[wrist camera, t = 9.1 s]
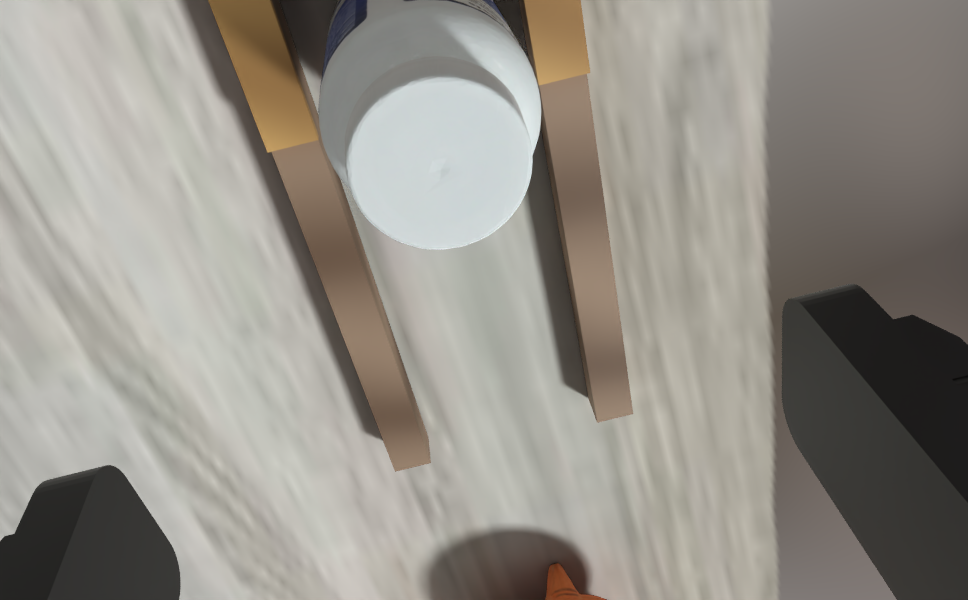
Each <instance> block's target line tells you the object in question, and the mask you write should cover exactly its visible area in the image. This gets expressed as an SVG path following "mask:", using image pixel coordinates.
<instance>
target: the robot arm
mask: <svg viewBox="0 0 968 600" xmlns="http://www.w3.org/2000/svg"><path fill="white" fill-rule="evenodd" d="M782 403H783V409H784V413H785V417H786V421H787V424H788V427H789V430H790V432H791V435H792V437H793V439H794V441H795V443H796V445H797V447H798V448H799V450H800V452H801V453H802V455H803V456H804V458H805V459H806V461H807V462H808V464H809V465H810V467H811V468H812V470H813V471H814V473H815V475H816V476H817V478H818V479H819V481H820V482H821V484H822V485H823V487H824V488H825V490H826V491H827V493H828V495H829V496H830V498H831V499H832V500H833V502H834V504H835V505H836V507H837V508H838V510H839V512H840V513H841V514H842V516H843V518H844V519H845V521H846V522H847V524H848V525H849V527H850V528H851V530H852V531H853V533H854V534H855V536H856V538H857V539H858V541H859V542H860V543H861V545H862V546H863V548H864V550H865V551H866V553H867V554H868V556H869V558H870V559H871V561H872V562H873V564H874V565H875V567H876V568H877V570H878V571H879V573H880V574H881V576H882V577H883V579H884V581H885V582H886V584H887V585H888V587H889V588H890V590H891V591H892V593H893V594H894V596H895V597H896V599H897V600H968V345H967V344H966V343H965V342H964V341H963V340H962V339H961V338H960V337H958V336H956V335H954V334H952V333H950V332H948V331H946V330H944V329H941V328H939V327H937V326H935V325H933V324H931V323H929V322H927V321H925V320H923V319H920V318H918V317H916V316H914V315H910V316H906V317H901V318H897V319H892V318H891V317H890V316H889V315H888V314H887V313H886V312H885V311H884V310H883V309H882V308H881V307H880V305H879V304H877V302H876V301H875V300H874V299H873V298H872V297H871V296H870V295H869V294H868V293H867V292H866V291H865V290H863V289H862V288H861V287H860V286H858V285H855V284H848V285H844V286H839V287H835V288H832V289H828V290H823V291H819V292H815V293H811V294H807V295H804V296H799V297H795V298H791V299H788V300H787V301H786V302H785V305H784V307H783V315H782ZM179 596H180V571H179V565H178V561H177V557H176V554H175V552H174V549H173V547H172V545H171V544H170V542H169V541H168V539H167V538H166V536H165V535H164V533H163V532H162V530H161V529H160V527H159V526H158V524H157V523H156V521H155V520H154V518H153V517H152V515H151V514H150V512H149V511H148V509H147V508H146V506H145V505H144V503H143V502H142V500H141V499H140V497H139V496H138V494H137V493H136V491H135V490H134V488H133V487H132V485H131V484H130V482H129V481H128V479H127V478H126V477H125V475H124V474H123V473H122V472H121V471H120V470H119V469H118V468H116V467H114V466H111V465H107V466H102V467H98V468H94V469H90V470H86V471H82V472H78V473H74V474H70V475H66V476H62V477H58V478H54V479H50V480H47V481H44V482H42V483H41V484H40V485H39V486H38V487H37V488H36V489H35V491H34V493H33V495H32V497H31V499H30V501H29V503H28V506H27V508H26V510H25V512H24V514H23V516H22V519H21V521H20V523H19V525H18V527H17V530H16V532H15V534H12V535H8V536H4V538H3V539H2V540H1V541H0V600H179Z"/></svg>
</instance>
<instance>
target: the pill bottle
mask: <svg viewBox="0 0 968 600" xmlns="http://www.w3.org/2000/svg"><path fill="white" fill-rule="evenodd" d="M318 112H319V125H320V132H321V137H322V141H323V145H324V148H325V151H326V153H327V156H328V158H329V160H330V162H331V164H332V166H333V168H334V169H335V171H336V173H337V174H338V176H339V177H340V179H341V180H342V181H343V182H344V184H345V185H346V186H347V187H348V188H349V189H350V191H351V194H352V196H353V199H354V201H355V202H356V204H357V206H358V207H359V209H360V211H361V212H362V213H363V215H364V216H365V217H366V218H367V220H368V221H369V222H370V223H371V224H373V225H374V226H375V227H376V228H377V229H378V230H379V231H381V232H382V233H384V234H385V235H387V236H389V237H390V238H392V239H394V240H396V241H398V242H400V243H403V244H407V245H410V246H412V247H417V248H421V249H432V250H442V249H451V248H458V247H462V246H466V245H469V244H471V243H474V242H476V241H479V240H481V239H483V238H485V237H487V236H488V235H490V234H492V233H493V232H494V231H496V230H497V229H498V228H500V227H501V226H502V225H503V224H504V223H505V222H506V221H507V220H508V219H509V218H510V217H511V216H512V215H513V213H514V212H515V211H516V209H517V208H518V207H519V205H520V203H521V202H522V200H523V198H524V196H525V194H526V191H527V189H528V186H529V182H530V179H531V174H532V163H533V159H532V155H533V153H534V150H535V147H536V144H537V141H538V137H539V132H540V125H541V100H540V94H539V88H538V84H537V81H536V78H535V75H534V71H533V69H532V67H531V64H530V62H529V60H528V58H527V56H526V54H525V53H524V51H523V49H522V48H521V46H520V45H519V43H518V41H517V39H516V38H515V36H514V35H513V33H512V31H511V29H510V28H509V26H508V24H507V23H506V21H505V19H504V18H503V16H502V14H501V13H500V11H499V10H498V8H497V6H496V4H495V3H494V1H493V0H338V2H337V4H336V6H335V9H334V12H333V15H332V18H331V21H330V25H329V29H328V37H327V44H326V51H325V59H324V66H323V72H322V80H321V86H320V95H319V108H318Z"/></svg>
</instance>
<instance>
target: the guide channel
mask: <svg viewBox="0 0 968 600" xmlns="http://www.w3.org/2000/svg"><path fill="white" fill-rule="evenodd" d="M208 1H209V4H210V7H211V9H212V12H213V14H214V17H215V19H216V22H217V24H218V27H219V30H220V32H221V35H222V37H223V40H224V42H225V45H226V48H227V50H228V53H229V55H230V58H231V60H232V63H233V65H234V68H235V71H236V73H237V76H238V78H239V81H240V83H241V86H242V89H243V91H244V94H245V96H246V99H247V101H248V104H249V106H250V109H251V112H252V114H253V117H254V119H255V122H256V124H257V127H258V130H259V132H260V135H261V137H262V140H263V142H264V145H265V147H266V150H267V153H268V152H272V155H273V157H274V160H275V162H276V165H277V168H278V170H279V173H280V175H281V178H282V181H283V183H284V186H285V188H286V191H287V193H288V196H289V199H290V201H291V204H292V206H293V209H294V212H295V214H296V217H297V219H298V222H299V224H300V227H301V230H302V232H303V235H304V237H305V240H306V243H307V245H308V248H309V250H310V253H311V255H312V258H313V261H314V263H315V266H316V268H317V271H318V274H319V276H320V279H321V281H322V284H323V286H324V289H325V292H326V294H327V297H328V299H329V302H330V305H331V307H332V310H333V312H334V315H335V317H336V320H337V323H338V325H339V328H340V330H341V333H342V336H343V338H344V341H345V343H346V346H347V348H348V351H349V354H350V356H351V359H352V361H353V364H354V367H355V369H356V372H357V374H358V377H359V379H360V382H361V385H362V387H363V390H364V392H365V395H366V398H367V400H368V403H369V405H370V408H371V410H372V413H373V416H374V418H375V421H376V423H377V426H378V429H379V431H380V434H381V436H382V439H383V441H384V444H385V447H386V449H387V452H388V454H389V457H390V460H391V462H392V465H393V467H394V470H395V471H400V470H404V469H408V468H412V467H416V466H420V465H424V464H428V463H431V460H430V450H429V439H428V435H427V432H426V429H425V426H424V424H423V421H422V418H421V415H420V412H419V409H418V406H417V403H416V400H415V397H414V394H413V391H412V388H411V385H410V383H409V380H408V377H407V374H406V371H405V368H404V365H403V362H402V359H401V356H400V353H399V350H398V347H397V344H396V342H395V339H394V336H393V333H392V330H391V327H390V324H389V321H388V318H387V315H386V312H385V309H384V306H383V303H382V301H381V298H380V295H379V292H378V289H377V286H376V283H375V280H374V277H373V274H372V271H371V268H370V265H369V262H368V260H367V257H366V254H365V251H364V248H363V245H362V242H361V239H360V236H359V233H358V230H357V227H356V224H355V221H354V219H353V216H352V213H351V210H350V207H349V204H348V201H347V198H346V195H345V192H344V189H343V186H342V183H341V180H340V178H339V176H338V174H337V173H336V171H335V169H334V168H333V166H332V164H331V162H330V160H329V158H328V156H327V153H326V151H325V148H324V145H323V141H322V137H321V132H320V125H319V116H318V113H317V110H316V107H315V104H314V101H313V98H312V95H311V93H310V90H309V87H308V84H307V81H306V78H305V75H304V72H303V69H302V66H301V63H300V60H299V57H298V54H297V52H296V49H295V46H294V43H293V40H292V37H291V34H290V31H289V28H288V25H287V22H286V19H285V16H284V13H283V11H282V8H281V5H280V2H279V0H208ZM518 1H519V6H520V12H521V18H522V23H523V29H524V35H525V40H526V46H527V52H528V57H529V62H530V64H531V67H532V69H533V71H534V75H535V78H536V81H537V84H538V88H539V94H540V100H541V131H542V137H543V142H544V148H545V154H546V159H547V165H548V171H549V176H550V182H551V188H552V193H553V199H554V205H555V210H556V216H557V222H558V227H559V233H560V239H561V244H562V250H563V256H564V261H565V267H566V273H567V279H568V284H569V290H570V296H571V301H572V307H573V313H574V318H575V324H576V330H577V335H578V341H579V347H580V352H581V358H582V364H583V369H584V375H585V381H586V386H587V392H588V398H589V401H590V404H591V407H592V409H593V412H594V415H595V418H596V420H597V422H602V421H606V420H610V419H614V418H618V417H622V416H626V415H630V414H633V410H632V402H631V395H630V388H629V380H628V373H627V366H626V358H625V351H624V344H623V336H622V329H621V322H620V314H619V307H618V300H617V292H616V285H615V277H614V270H613V263H612V255H611V248H610V241H609V233H608V226H607V219H606V211H605V204H604V197H603V189H602V182H601V175H600V167H599V160H598V153H597V145H596V138H595V131H594V123H593V116H592V109H591V101H590V94H589V86H588V79H587V73H590V68H589V60H588V53H587V45H586V38H585V30H584V23H583V15H582V8H581V0H518Z"/></svg>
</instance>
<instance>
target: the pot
mask: <svg viewBox="0 0 968 600" xmlns="http://www.w3.org/2000/svg"><path fill="white" fill-rule="evenodd" d="M545 600H607V599H603V598H601V597H598V596H594V595H582V594H580V593H578V591H577V590H576V589H575V587H574V585H573V584H572V582H571V580H570V579H569V577H568V575H567V574H566V572H565V571H564V569H563V568H562V566H561V565H560V564H559V563H556V564H552V565H550V567H549V571H548V578H547V594H546V599H545Z"/></svg>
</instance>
